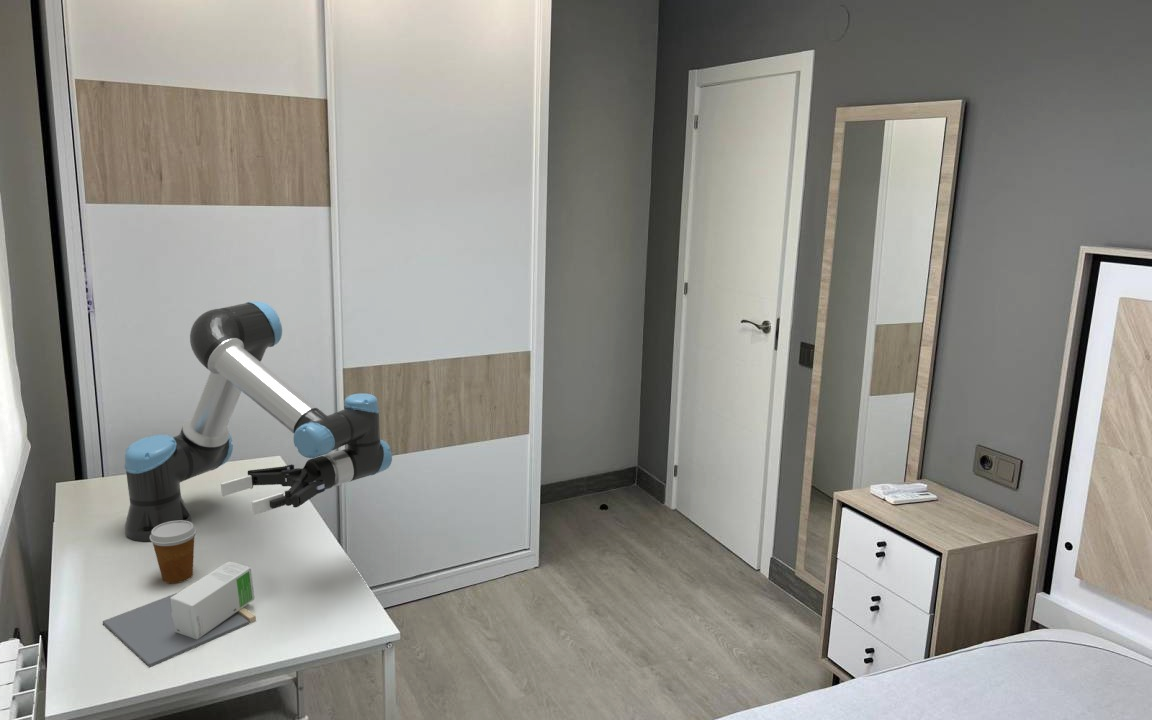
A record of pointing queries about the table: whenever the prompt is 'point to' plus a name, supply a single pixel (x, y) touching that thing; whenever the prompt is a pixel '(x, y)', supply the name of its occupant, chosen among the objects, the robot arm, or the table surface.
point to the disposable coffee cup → (174, 549)
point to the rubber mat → (165, 631)
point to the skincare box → (212, 599)
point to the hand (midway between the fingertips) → (236, 498)
